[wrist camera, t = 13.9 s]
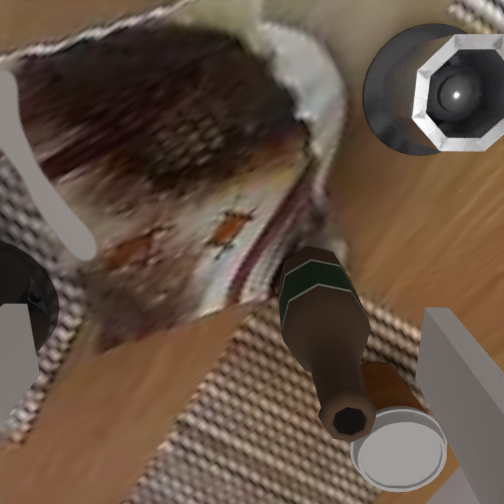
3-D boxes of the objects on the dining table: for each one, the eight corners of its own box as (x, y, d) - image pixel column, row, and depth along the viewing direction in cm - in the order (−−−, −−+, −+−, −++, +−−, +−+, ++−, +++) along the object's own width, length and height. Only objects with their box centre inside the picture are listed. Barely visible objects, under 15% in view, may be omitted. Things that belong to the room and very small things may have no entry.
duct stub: (339, 115, 46) (355, 121, 38) (411, -3, 43) (447, -23, 35) (436, 176, 48) (471, 194, 40) (514, 68, 45) (570, 64, 36)
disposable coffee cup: (404, 340, 55) (441, 407, 43) (420, 405, 58) (459, 483, 46) (325, 361, 56) (341, 431, 44) (345, 424, 59) (365, 504, 47)
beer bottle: (271, 250, 51) (279, 380, 29) (342, 238, 51) (407, 361, 28) (283, 313, 54) (298, 478, 31) (350, 302, 53) (416, 463, 31)
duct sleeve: (386, 45, 44) (421, 34, 34) (477, 45, 43) (537, 33, 34) (378, 137, 46) (408, 151, 37) (464, 138, 46) (515, 151, 37)
